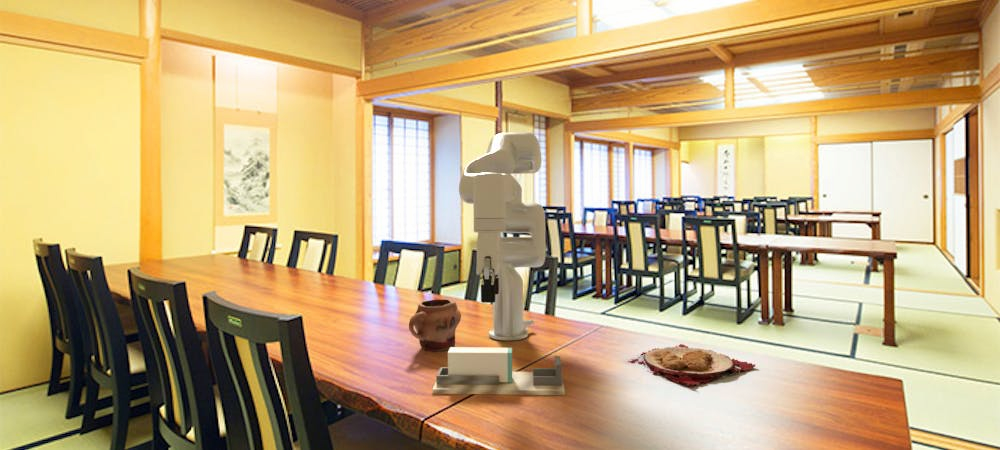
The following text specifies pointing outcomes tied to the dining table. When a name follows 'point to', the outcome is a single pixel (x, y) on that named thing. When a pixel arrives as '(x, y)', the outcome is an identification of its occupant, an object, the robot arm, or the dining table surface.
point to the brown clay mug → (435, 324)
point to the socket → (548, 375)
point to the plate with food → (690, 364)
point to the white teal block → (481, 362)
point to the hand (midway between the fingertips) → (490, 298)
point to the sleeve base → (491, 385)
